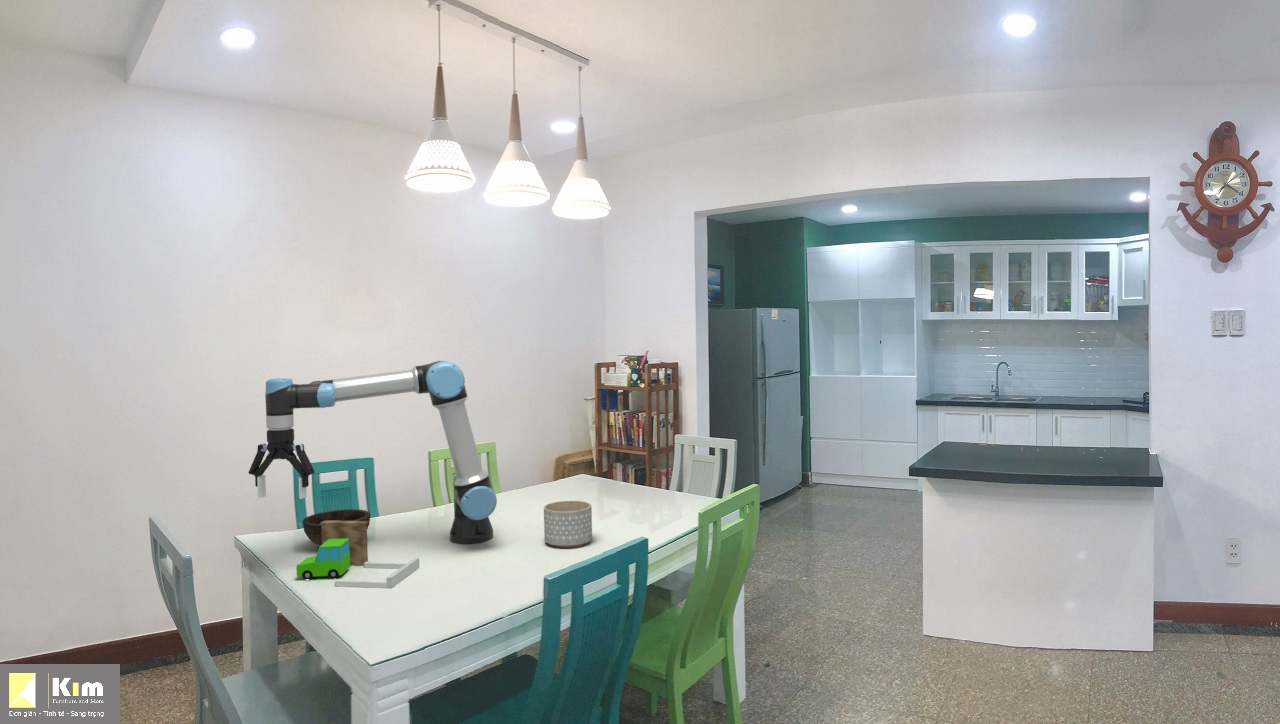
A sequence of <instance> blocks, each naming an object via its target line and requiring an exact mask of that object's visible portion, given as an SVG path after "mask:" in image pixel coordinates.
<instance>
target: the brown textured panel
mask: <svg viewBox="0 0 1280 724" xmlns="http://www.w3.org/2000/svg"><path fill="white" fill-rule="evenodd" d="M367 524H368V521H332V520H324V521H322V522H320V525H321V531H322V544H324V543H325V542H326V541H327V540H329V539H346V538H349V543H350V565H354V566H355V567H356V566H357V567H361V566H362V567H364V563H365V562H369V560H368V559H369V556H368V555H369V554H368V553H369V551H368V529H367ZM354 566H353V567H354Z"/></svg>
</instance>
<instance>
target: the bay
mask: <svg viewBox="0 0 1280 724" xmlns="http://www.w3.org/2000/svg"><path fill="white" fill-rule="evenodd" d="M363 568H364V569H389V570H390V569H391V570H393V569H396V570H395V571H394V572H392V573H391V574H390V575H388V576H387V577H386V580H367V579H336V580H334V587H340V588H341V587H343V588H372V589H373V588H375V589H376V588H379V589H393V588H395V586H397V585H398V584H400V583H401V582H402V581H403V580H405V579H406V578H407V577H409V576H410V575H412V574H413V573H414V572H416V571H417V570H418V569H419V568H420V558H419V557H414V558H412V559H411V560H410V561H408V562H402V561H401V562H400V561H399V562H397V561H396V562H395V561H394V562H393V561H368V562H365V563H364V566H363Z"/></svg>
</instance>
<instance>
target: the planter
mask: <svg viewBox="0 0 1280 724" xmlns="http://www.w3.org/2000/svg"><path fill="white" fill-rule="evenodd" d="M592 507H593V506H592V504H591V503H590V502H587V501H584V500H583V501H582V500H561V501H559V500H558V501H554V502H550V503H547V504H545V505H544V506H543V525H544V526H543V528H544V529H543V531H544V535H543V537H544V542H545V543H546V544H548V545H550V546H551V547H555V548H561V549H562V548H563V549H568V548H569V549H570V548H579V547H582V546H584V545H586V544H587V543H589V542H590V541H592V540H593V519H592V517H593V516H592V514H593V513H592Z"/></svg>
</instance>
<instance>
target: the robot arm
mask: <svg viewBox="0 0 1280 724" xmlns="http://www.w3.org/2000/svg"><path fill="white" fill-rule="evenodd" d="M465 379H466V378H465V375H464V372H463V370H462V369H461V368H460V366H458V365H457V364H456V363H454V362H451V361H447V360H437V361H433V362H430V363H427V364H422V365H416V366H413V367H412V368H411V369H407V370H406V369H405V370H400V371H391V372H384V373H376V374H375V373H374V374H367V375H365V374H364V375H360V376H358V375H357V376H350V377H343V378H334V379H327V380H326V379H325V380H314V381H311V382H309V383H302V384H301V383H298V384H297V383H294V381H293V379H292V378H291V377H289V378H288V377H281V378H279V377H277V378H276V377H275V378H269V379H267V380H266V381H265V394H264V396H265V415H266V416H265V418H266V419H265V423H266V425H265V427H266V429H267V430H266V443H267V444H266V443H260V444H258V445H257V450H256V451H257V452H256V454H255V457H254V458H253V461H252V463H251V465H250V466H249V467H250V468H249V470H248V474H249V475H253V476H254V478H255V480H254V483H255V487H256V488H257V499H261V498H264V497H266V496H267V490H266V489H267V486H266V485H267V484H266V474H264V473H265V472H266V470H267V469H268V468H269V466H270V465H271V464H272V463H273V461H274V460H286V461H287V462H289V464H290V465H291V466H292V467H293V468H294V469H295V471H296V472H297V473H298V474H299V475H300V477H298V495H299V496H298V498H299V499H300V500H302V499H305V498H307V497H308V493H307V491H308V490H307V488H308V487H309V485H310V483H309V479H310V478H309V477H310V475H311V476H312V475H314V474H315V469H314V467H313V465H312V463H311V462H310V459H309V457H308V455H307V453H306V451H305V446H304V443H300V444H295V442H294V441H295V429H294V428H293V427H294V425H295V423H294V421H295V420H294V409H296V410H297V409H298V410H299V409H320V408H321V409H325V408H332V407H335V406H336V402H346V401H352V400H359V399H367V398H375V397H383V396H390V395H399V394H405V393H406V394H407V393H412V392H414V393H416V394H417V395H420V394H429V397H430V401H431V405H432V407H434V408H435V409H437V410H438V412H439V416H440V420H441V422H442V423H441V424H442V428H443V431H444V433H445V439H446V441H447V446H448V450H449V452H450V453H449V454H450V456H451V460H452V463H453V464H452V465H453V467H454V468H453V469H454V471H455V475H454V477H453V479H452V480H453V482H452V485H453V511H454V515H453V517H454V518H453V520H452V521H453V522H452V525H451V527H450V531H449V541H451V542H452V543H456V544H475V543H477V544H478V543H481V542H486V541H489V540H490V539H493V537H494V528H493V525H492V523H491V520H490V517H489V516H491V515H492V514H493V513H494V511H495V509H496V507H497V495H496V493H495V491H494V489H493V487H492V484H491V480H490V476H489V473H488V472H485V471H484V470H483V468H482V463H481V460H480V457H479V452H478V449H477V446H476V441H475V437H474V434H473V430H472V427H471V426H472V425H471V423H470V418H469V416H468V410H467V408H466V403H465V402H466V401H467V400H468V399H467V398H468V392H467V390H466V389H467V388H466V386H465V383H466V381H465ZM266 452H268V454H267V455H266ZM265 455H266V456H265ZM264 457H265V459H264ZM263 459H264V460H263Z"/></svg>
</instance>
